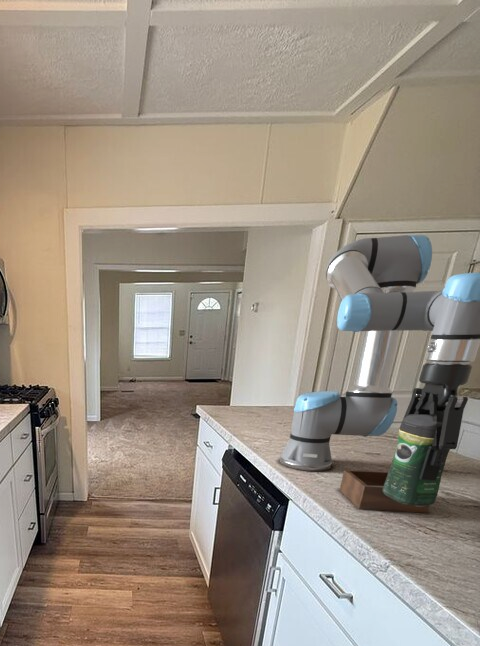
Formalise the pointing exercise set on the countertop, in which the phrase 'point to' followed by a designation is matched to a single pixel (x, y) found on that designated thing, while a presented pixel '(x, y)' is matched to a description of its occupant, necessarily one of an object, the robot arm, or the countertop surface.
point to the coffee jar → (413, 463)
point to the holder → (372, 492)
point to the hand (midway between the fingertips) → (414, 472)
